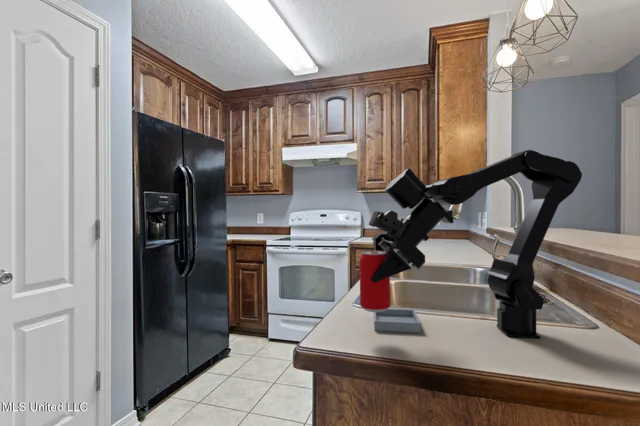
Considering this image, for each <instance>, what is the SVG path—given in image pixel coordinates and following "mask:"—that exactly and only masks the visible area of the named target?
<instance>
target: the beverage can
mask: <svg viewBox="0 0 640 426" xmlns="http://www.w3.org/2000/svg"><path fill="white" fill-rule="evenodd" d="M385 256H386V252H385V251H374V250H364V251H362V252H361V254H360V258H359V295H360V296H359V301H360V302H359V304H360V307H361V308H362V309H363V310H364V311H367V312H370V313H374V312H383V311H386V310H387V309H390V308H391V276H390V277H387V278H385V279H383V280H380V281H378V282H375V283H374V282H373V281H372V280H371V277H372V276H373V274H374V272H375V271H376V270H377V268H378V267H379V265H380V264H381V263H382V261H383V260H384V258H385Z"/></svg>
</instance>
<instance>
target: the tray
mask: <svg viewBox="0 0 640 426" xmlns="http://www.w3.org/2000/svg"><path fill="white" fill-rule="evenodd" d="M421 324H422V323H421V321H420V319H419V317H418V315H417V313H416V310H415V309H411V308H410V309H409V308H403V309H402V308H388V309H387V310H386V311H383V312H373V326H374V327H373V328H374V331H376V332H378V331H379V332H395V333H396V332H398V333H399V332H400V333H416V334H418V333H420V334H421V332H422V331H421V330H422V329H421V327H422V326H421Z"/></svg>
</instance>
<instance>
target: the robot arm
mask: <svg viewBox="0 0 640 426" xmlns="http://www.w3.org/2000/svg"><path fill="white" fill-rule="evenodd" d="M517 174H521V175H522V176H523V178H525V179H526V180H529V181H531V182H532V183H531V193H532V199H531V202H530V204H529V207H528V209H527V212H526V214H525V216H524V218H523V221H522V223H521V225H520V227H519V230H518V231H517V234H516V235H515V239H514V240H513V242H512V245H511V247H510V250H509V252H508V254H507V255H505V257H503V258H502V259H500V258H494V259H493V261H492V264H491V268H490V269H489V270H488V272H486V275H488V277H487V285H488V288H489V289H490V290H491V292H493V296H494V298H495V300H497V301H499V308H498V307H497V308H496V318H497V319H496V322H497V323H496V327H497V328H498V329H499V330H500V331H501V332H502V333H503V334H504V335H506V336H507V337H515V338H516V337H517V338H533V339H534V338H536V339H540V338H541V334H539V333H538V332H537V310H542V309H543V306H544V302H545V299H544V298H543V297H542V295H540V294H539V293H538V292H537V290H536V289H534V283H535V279H536V278H535V271H534V262H535V259H536V257H537V255H538V253H539V250H540V249H541V246H542V244H543V241H544V239H545V237H546V235H547V233H548V230H549V228H550V225H551V224H552V221H553V218H554V216H555V214H556V212H557V211H558V207H559V206H560V204H561V203H562V202H563V201H565V200H566V199H568V197H570V196H571V195H572V194H573V193H574V192H575V190H576V188H577V187H578V185H579V184H580V182H581V180H582V177H583V173H582V171H581V169H580V167H579V166H578V164H577V163H575V162H573V161H571V160H567V161H566V160H564V159H561V158H559V157H555V156H551V155H545V154H542V153H540V152H539V151H538V152H537V151H536V150H532V149H527V150H524V151H520V152H519V151H518V152H515V153H514V154H512V155H511V156H509V157H507V158H504V159H501V160H500V161H499V160H498V161H497V162H495V163H492V164H489V165H487V166H485V167H482V168H479V169H477V170H475V171H472V172H470V173H467V174H462V175H457V176H453V177H452V176H451V177H449V178H444V179H439V180H437V181H435V182H434V183H432V184H427V185H425V184H424V183H423V181H421V180H420V179H419V178H418V177H417V176H416V174H415V172H414V171H413V170H412V169H411V168H406V169H405V170H404V171H402V173H400V174H399V175H398V176H397V177H395V178H394V179H392V180H390V182H389V183H388V184H387V185H386V187H384V192H386V194H387V195H388V196H390V198H391V199H393V201H394V202H396V204H398V206H399V207H400V208H402V209H404V210H405V209H407V208H408V209H409V210H411V209H413V210H412V211H410V213H408V215H407V216H406V217H400V218H399V216H398V212H396V211H394V210H392V209H391V210H389V209H388V210H387V211H386V212H385V213H384V212H383V211H377V210H374V211H373V214H372V216H371V217H370V220H369V222H368V225H369V226H371V227H375V228H377V229H380V230H381V231H384V232H385V233H383V232H377V233H375V234H374V235H373V237H372V238H371V241H372V244H373V251H385V252H386V256H385V258H384V260H383V261H382V263H381V264H380V265H379V267H378V268H377V270H376V271H375V272H374V274H373V276H372V277H371V280H372V281H373V282H374V283H375V282H378V281H380V280H383V279H385V278H387V277H390V278H391V277H393V276H395V275H397V274H400V273H403V272H405V271H408V270H411V269H413V268H414V269H416V270H420V269H421V268H422V267H423V265H424V264H426V255H425V254H424V253H423V252H422V251H421V250H420V249H419V248H418V246H419V245H420V243H422V241H423V242H427V241H428V240H429V239H430V237H429V236H428V235H429V234H430V233H431V232H432V231H433V230H434V229H435V228H436V227H437V226H438V225H439V223H440V222H442V223H443V224H444V223H445V224H453V223H454V221H455V220H454V217H453V213H454V212H453V210H452V209H451V210H448V209H445V208H444V206H454V205H455V206H457V205H460V204H463V203H465V202H466V201H468V200H469V199H470V198H472V197H474V196H475V195H476V194H477V193H478V192H479V191H481V190H482V189H483V188H485V187H488V186H490V185H492V184H496V183H497V182H500V181H503V180H504V179H507V178H509V177H512V176H514V175H517ZM410 265H411V266H410Z"/></svg>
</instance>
